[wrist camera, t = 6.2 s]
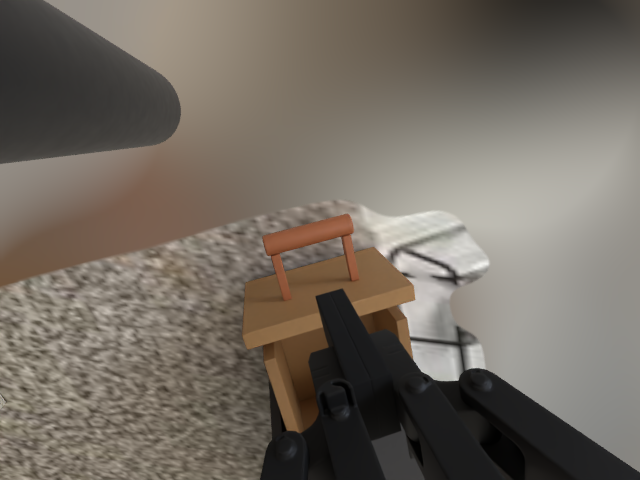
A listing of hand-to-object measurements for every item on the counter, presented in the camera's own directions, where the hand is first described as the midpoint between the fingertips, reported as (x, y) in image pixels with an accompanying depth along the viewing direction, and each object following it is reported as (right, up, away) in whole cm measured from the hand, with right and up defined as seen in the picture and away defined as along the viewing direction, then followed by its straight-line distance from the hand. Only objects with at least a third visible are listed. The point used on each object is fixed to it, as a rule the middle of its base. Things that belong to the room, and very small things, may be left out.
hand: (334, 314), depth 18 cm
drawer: (-1, -2, +12) cm, 12 cm away
